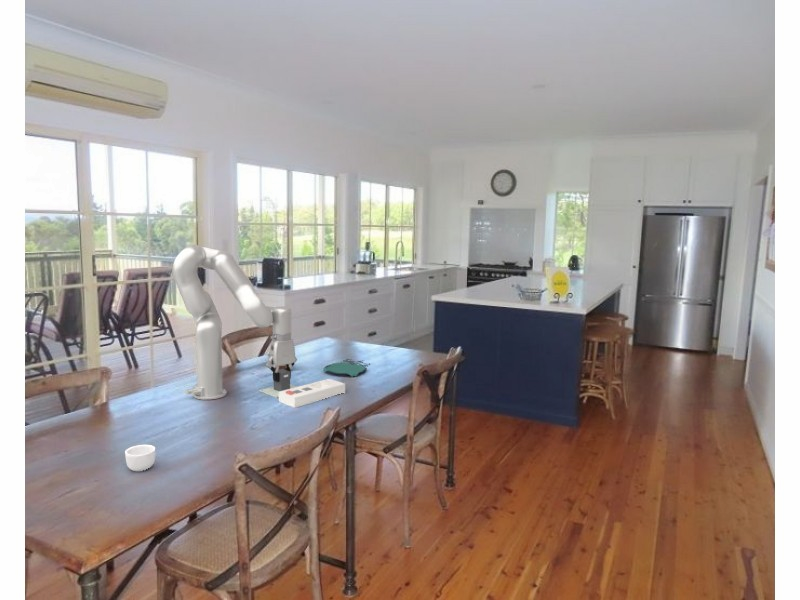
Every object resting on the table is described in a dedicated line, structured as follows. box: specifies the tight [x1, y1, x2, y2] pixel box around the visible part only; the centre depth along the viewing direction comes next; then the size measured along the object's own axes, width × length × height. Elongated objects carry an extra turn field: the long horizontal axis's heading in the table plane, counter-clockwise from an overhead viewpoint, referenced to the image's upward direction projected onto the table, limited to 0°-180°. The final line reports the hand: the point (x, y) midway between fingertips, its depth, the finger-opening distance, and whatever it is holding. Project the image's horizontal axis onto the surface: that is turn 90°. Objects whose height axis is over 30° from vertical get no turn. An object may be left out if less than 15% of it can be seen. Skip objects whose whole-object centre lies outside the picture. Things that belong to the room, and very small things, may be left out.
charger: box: [273, 369, 291, 391], centre depth 226 cm, size 4×6×8 cm
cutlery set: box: [323, 358, 367, 378], centre depth 263 cm, size 20×30×2 cm, turn 162°
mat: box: [259, 383, 297, 399], centre depth 227 cm, size 14×12×1 cm
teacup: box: [124, 444, 156, 472], centre depth 155 cm, size 10×8×5 cm
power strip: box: [278, 378, 346, 409], centre depth 220 cm, size 26×10×5 cm, turn 139°
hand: (282, 379), depth 226 cm, fingers open, 5 cm apart
